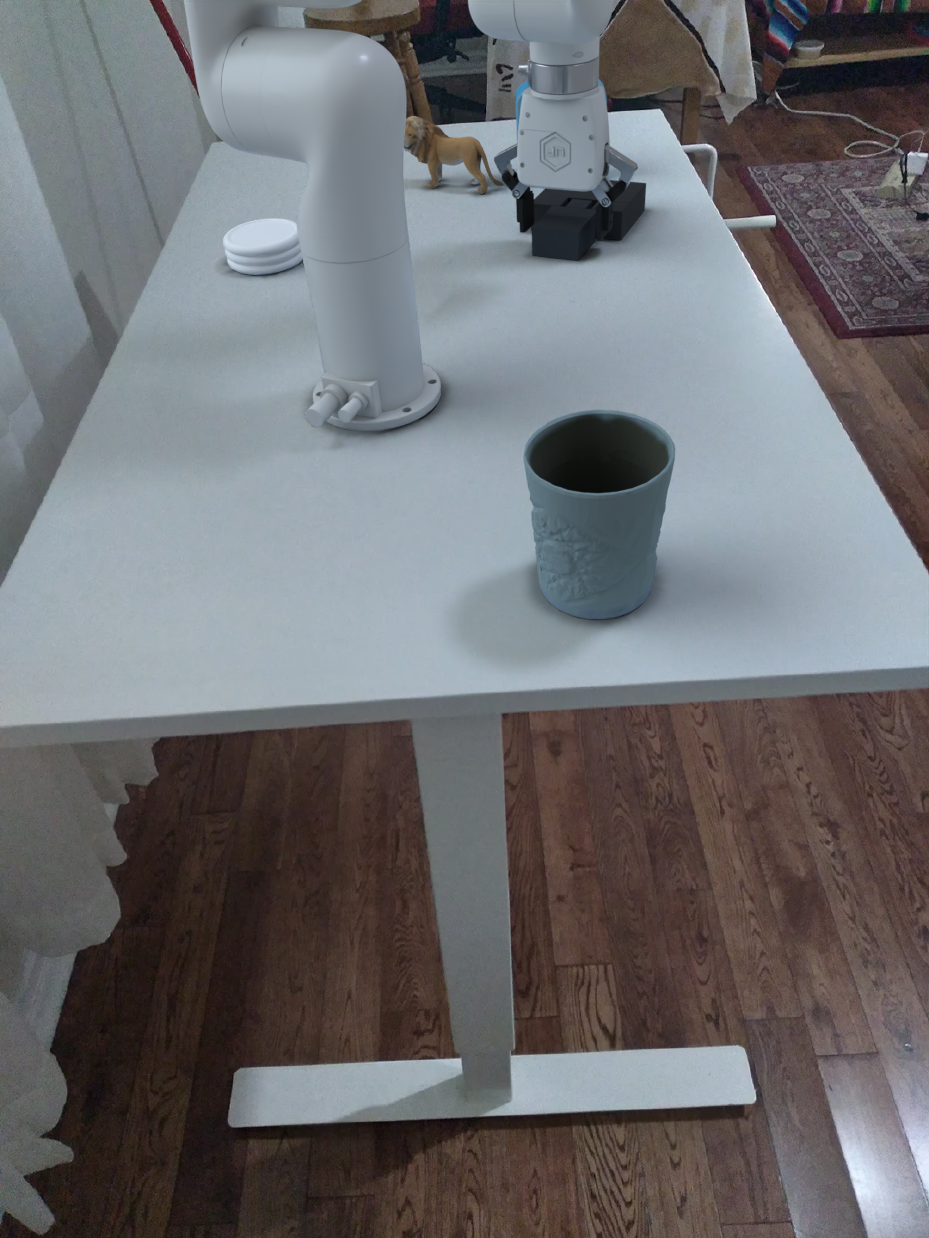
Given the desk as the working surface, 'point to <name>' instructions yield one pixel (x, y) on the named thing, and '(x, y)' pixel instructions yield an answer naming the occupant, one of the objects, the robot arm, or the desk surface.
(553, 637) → the desk surface
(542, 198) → the notch pad
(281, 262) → the coaster
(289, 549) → the desk surface
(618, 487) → the embossed blue-grey cup
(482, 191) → the lion figurine
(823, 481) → the desk surface
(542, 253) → the pad
